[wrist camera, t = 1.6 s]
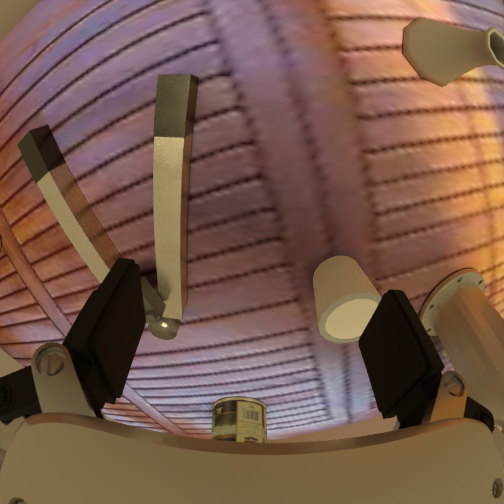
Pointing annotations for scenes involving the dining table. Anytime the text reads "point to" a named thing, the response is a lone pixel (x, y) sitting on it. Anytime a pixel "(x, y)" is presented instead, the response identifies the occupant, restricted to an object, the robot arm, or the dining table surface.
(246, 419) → the coffee can
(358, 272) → the beige tapered cylinder
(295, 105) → the dining table surface
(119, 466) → the robot arm
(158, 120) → the arm
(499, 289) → the dining table surface
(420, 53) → the flask
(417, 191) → the dining table surface
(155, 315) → the sleeve
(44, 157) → the tongs base
